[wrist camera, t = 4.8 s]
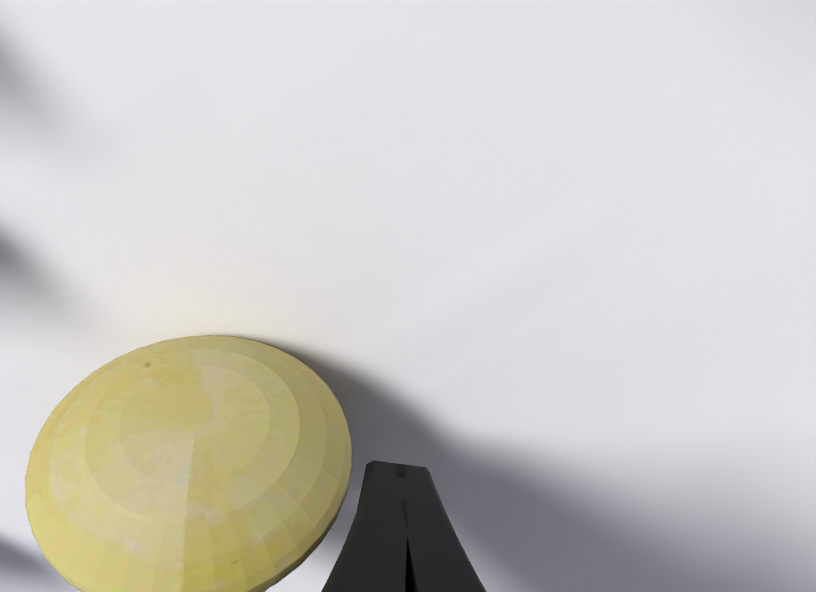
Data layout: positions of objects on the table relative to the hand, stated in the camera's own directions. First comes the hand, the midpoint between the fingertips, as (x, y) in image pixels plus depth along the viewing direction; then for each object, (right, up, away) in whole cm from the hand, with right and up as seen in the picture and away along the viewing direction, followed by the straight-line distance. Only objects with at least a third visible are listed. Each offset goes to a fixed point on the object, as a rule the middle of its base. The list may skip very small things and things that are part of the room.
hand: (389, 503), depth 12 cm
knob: (-3, +1, +1) cm, 4 cm away
